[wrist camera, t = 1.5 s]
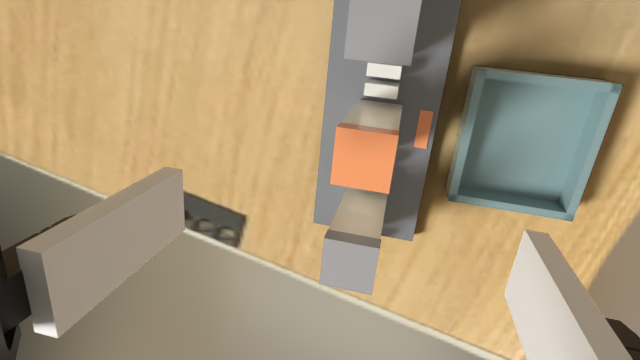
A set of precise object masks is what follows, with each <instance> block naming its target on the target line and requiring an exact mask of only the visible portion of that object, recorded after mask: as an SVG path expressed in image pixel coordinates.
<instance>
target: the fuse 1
mask: <svg viewBox="0 0 640 360" xmlns="http://www.w3.org/2000/svg"><path fill="white" fill-rule="evenodd" d="M421 3H422V0H350V4H349V13H348V23H347V32H346V41H345V50H344V59H353V60H362V61H371V62H380V63H389V64H398V65H406V66H411V61H412V55H413V50H414V44H415V38H416V32H417V26H418V20H419V14H420V8H421Z"/></svg>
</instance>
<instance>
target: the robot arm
mask: <svg viewBox="0 0 640 360" xmlns="http://www.w3.org/2000/svg"><path fill="white" fill-rule="evenodd" d="M184 230H185V224H184V198H183V173H182V170H181V169H175V168H169V167H164V168H162V169H160V170H159V171H157V172H155V173H153V174H151V175H149V176H147V177H146V178H144V179H142V180H140V181H138V182H136V183H134V184H133V185H131V186H129V187H127V188H125V189H123V190H121V191H120V192H118V193H116V194H114V195H112V196H110V197H108V198H107V199H105V200H103V201H101V202H99V203H97V204H95V205H94V206H92V207H90V208H88V209H86V210H84V211H83V212H81V213H79V214H76V215H73V216H70V217H66V218H64V219H62V220H60V221H58V222H56V223H55V224H52V225H51V227H47V228H45V229H43V230H41V231H40V232H39V233H36V234H34V235H32V236H30V237H28V238H26V239H24V240H22V241H20V242H19V243H17V244H15V245H13V246H11V247H9V248H7V249H5V250H4V251H2V250H1V246H0V360H16V355H17V351H18V346H19V342H20V337H21V330H20V326H19V323H20V322H22V321H23V320H24V319H26V318H27V317H28V316H30V315H31V318H32V323H33V327H34V332H37V333H41V334H44V335H48V336H51V337H55V338H59V337H60V336H61V335H62V334H63V333H65V332H66V331H67V330H68V329H69V328H70V327H72V326H73V325H74V324H75V323H76V322H77V321H78V320H80V319H81V318H82V317H83V316H84V315H86V314H87V313H88V312H89V311H90V310H91V309H93V308H94V307H95V306H96V305H97V304H98V303H100V302H101V301H102V300H103V299H104V298H105V297H107V296H108V295H109V294H110V293H111V292H112V291H114V290H115V289H116V288H117V287H118V286H119V285H121V284H122V283H123V282H124V281H125V280H126V279H128V278H129V277H130V276H131V275H132V274H133V273H135V272H136V271H137V270H138V269H139V268H140V267H142V266H143V265H144V264H145V263H146V262H147V261H148V260H150V259H151V258H152V257H153V256H154V255H155V254H157V253H158V252H159V251H160V250H161V249H163V248H164V247H165V246H166V245H167V244H168V243H169V242H171V241H172V240H173V239H174V238H175V237H176V236H178V235H179V234H180V233H181V232H182V231H184ZM504 295H505V298H506V301H507V304H508V307H509V310H510V313H511V315H512V318H513V321H514V324H515V327H516V330H517V333H518V336H519V339H520V341H521V344H522V347H523V350H524V353H525V356H526V359H527V360H640V338H639V337H638V336H637V335H636V334H635V333H634V332H633V331H632V330H630V329H629V328H628V327H627V326H626V325H624V324H623V323H622V322H621V321H618V320H613V319H608V318H605V317H604V316H603V314H602V313H601V311H600V310H599V309H598V307H597V305H596V304H595V302H594V301H593V299H592V298H591V297H590V295H589V294H588V292H587V291H586V289H585V288H584V286H583V285H582V283H581V282H580V280H579V279H578V277H577V276H576V274H575V273H574V271H573V270H572V268H571V267H570V265H569V264H568V262H567V261H566V259H565V258H564V256H563V255H562V253H561V252H560V250H559V249H558V247H557V246H556V244H555V243H554V241H553V240H552V238H551V237H550V235H549V234H548V233H543V232H537V231H532V230H526V229H525V230H524V233H523V236H522V239H521V242H520V246H519V249H518V252H517V255H516V258H515V261H514V264H513V268H512V271H511V274H510V277H509V280H508V283H507V286H506V289H505V293H504Z"/></svg>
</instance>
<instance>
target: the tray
mask: <svg viewBox="0 0 640 360" xmlns="http://www.w3.org/2000/svg"><path fill="white" fill-rule="evenodd" d="M622 87H623V84H619V83H615V82H612V81H608V80H600V79H591V78H582V77H573V76H564V75H555V74H545V73H536V72H527V71H518V70H509V69H500V68H491V67H482V66H473V69H472V73H471V78H470V82H469V87H468V91H467V95H466V100H465V104H464V109H463V113H462V117H461V122H460V126H459V131H458V135H457V139H456V144H455V148H454V153H453V157H452V161H451V166H450V170H449V175H448V179H447V183H446V188H445V190H446V195H447V200H448V201H454V202H460V203H466V204H471V205H477V206H483V207H489V208H495V209H501V210H507V211H513V212H519V213H525V214H531V215H537V216H543V217H549V218H555V219H561V220H567V221H573V219H574V216H575V213H576V211H577V208H578V205H579V203H580V200H581V197H582V195H583V192H584V189H585V186H586V184H587V181H588V178H589V176H590V173H591V170H592V168H593V165H594V162H595V159H596V157H597V154H598V151H599V149H600V146H601V143H602V141H603V138H604V135H605V132H606V130H607V127H608V124H609V122H610V119H611V116H612V114H613V111H614V108H615V105H616V103H617V100H618V97H619V95H620V92H621V89H622Z"/></svg>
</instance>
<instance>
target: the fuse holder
mask: <svg viewBox="0 0 640 360" xmlns="http://www.w3.org/2000/svg"><path fill="white" fill-rule="evenodd" d="M461 2H462V0H422V3H421V8H420V14H419V20H418V26H417V32H416V38H415V44H414V50H413V55H412V61H411V66H406V65H398V64H389V63H380V62H371V61H362V60H353V59H344V50H345V41H346V32H347V23H348V13H349V4H350V0H334V10H333V21H332V31H331V42H330V52H329V63H328V73H327V84H326V95H325V105H324V116H323V126H322V137H321V147H320V158H319V168H318V179H317V190H316V200H315V211H314V221H313V223H317V224H323V225H328V226H331V224H332V221H333V219H334V217H335V214H336V212H337V210H338V207H339V205H340V203H341V200H342V198H343V196H344V193H345V191H346V189H347V187H345V186H339V185H333V184H330V180H331V171H332V161H333V152H334V143H335V134H336V126H337V125H338V124H339V123H340V122H342V121H343V120H344V118H345V117H346V116H347V115H348V113H349V112H350V111H351V110H352V108H353V107H354V106H355V105H356V103H357V102H358V101H359V100H360V99H361V100H369V101H377V102H384V103H392V104H400V105H403V106H402V113H401V119H400V125H399V138H398V144H397V150H396V155H395V161H394V167H393V173H392V179H391V185H390V191H389V194H388V195H387V201H386V208H385V214H384V220H383V226H382V232H381V236H387V237H392V238H397V239H403V240H408V241H413V236H414V231H415V226H416V222H417V217H418V212H419V207H420V202H421V197H422V192H423V187H424V182H425V178H426V173H427V168H428V163H429V158H430V153H431V148H432V143H433V138H434V134H435V129H436V124H437V119H438V114H439V109H440V104H441V99H442V94H443V90H444V85H445V80H446V75H447V70H448V65H449V60H450V55H451V50H452V46H453V41H454V36H455V31H456V26H457V21H458V16H459V11H460V6H461Z"/></svg>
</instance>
